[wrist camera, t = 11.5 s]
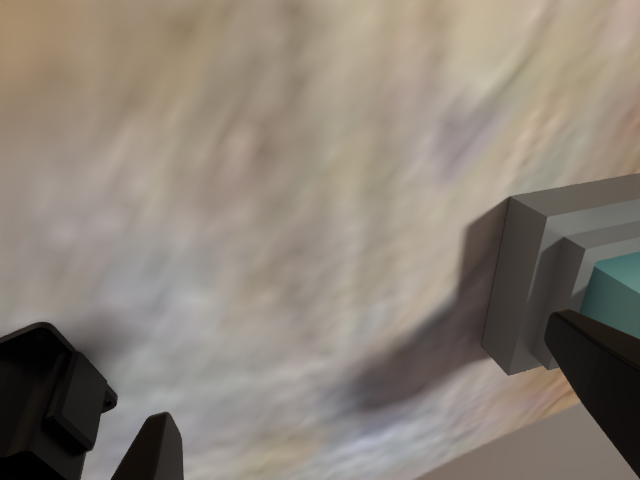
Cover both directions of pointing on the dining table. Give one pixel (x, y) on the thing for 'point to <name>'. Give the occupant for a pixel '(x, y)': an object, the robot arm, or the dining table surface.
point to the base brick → (554, 262)
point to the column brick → (615, 293)
